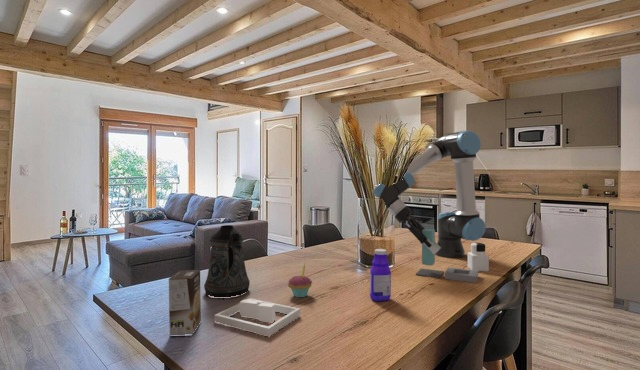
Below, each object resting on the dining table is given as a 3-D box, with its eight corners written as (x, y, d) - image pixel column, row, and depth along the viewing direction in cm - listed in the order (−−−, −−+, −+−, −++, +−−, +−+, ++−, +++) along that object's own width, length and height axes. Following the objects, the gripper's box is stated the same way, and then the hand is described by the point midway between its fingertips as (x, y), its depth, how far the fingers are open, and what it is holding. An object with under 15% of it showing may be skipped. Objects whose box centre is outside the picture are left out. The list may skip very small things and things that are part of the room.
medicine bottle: (483, 267, 165) (483, 241, 164) (488, 271, 158) (489, 244, 157) (467, 267, 165) (467, 241, 165) (472, 271, 158) (472, 244, 158)
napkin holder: (231, 317, 111) (230, 299, 110) (264, 309, 117) (264, 292, 117) (249, 335, 98) (249, 314, 98) (286, 324, 104) (285, 305, 104)
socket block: (448, 272, 156) (448, 267, 156) (478, 276, 150) (478, 270, 150) (444, 278, 147) (444, 272, 147) (475, 282, 142) (476, 276, 142)
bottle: (387, 295, 128) (387, 247, 127) (393, 301, 122) (393, 251, 122) (367, 297, 126) (367, 248, 126) (372, 302, 121) (372, 252, 120)
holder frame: (249, 305, 119) (249, 298, 119) (300, 316, 110) (300, 308, 109) (214, 323, 105) (214, 314, 105) (269, 337, 95) (268, 328, 95)
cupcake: (315, 293, 131) (314, 261, 131) (306, 301, 123) (306, 266, 123) (293, 290, 134) (293, 259, 133) (284, 298, 126) (283, 264, 125)
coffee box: (193, 336, 96) (192, 278, 96) (169, 337, 96) (167, 279, 95) (201, 322, 106) (200, 269, 105) (179, 323, 105) (178, 270, 105)
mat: (420, 269, 162) (420, 268, 162) (443, 272, 157) (443, 271, 157) (415, 275, 153) (415, 273, 153) (439, 278, 148) (439, 277, 148)
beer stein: (225, 282, 144) (224, 221, 143) (264, 289, 136) (263, 224, 135) (194, 295, 129) (193, 227, 128) (236, 303, 121) (235, 231, 120)
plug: (424, 261, 158) (424, 228, 157) (434, 263, 156) (434, 229, 155) (422, 264, 154) (422, 230, 153) (432, 265, 152) (432, 231, 151)
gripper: (399, 214, 169) (435, 252, 162) (388, 218, 154) (427, 260, 146) (411, 204, 167) (447, 242, 159) (400, 207, 151) (440, 249, 144)
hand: (437, 251), depth 153 cm, fingers closed on plug, 5 cm apart
